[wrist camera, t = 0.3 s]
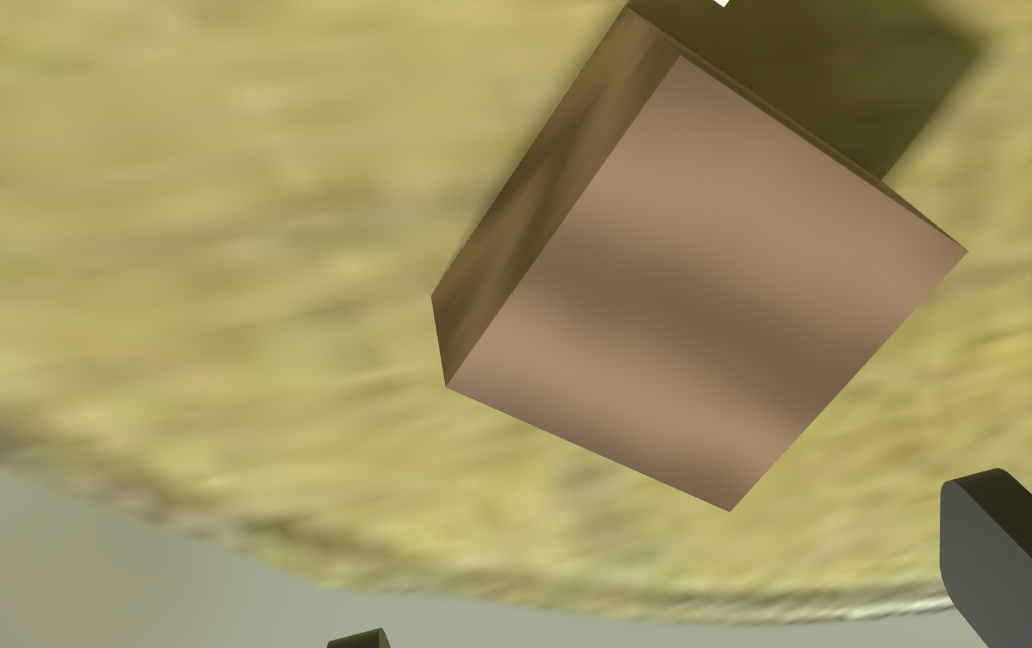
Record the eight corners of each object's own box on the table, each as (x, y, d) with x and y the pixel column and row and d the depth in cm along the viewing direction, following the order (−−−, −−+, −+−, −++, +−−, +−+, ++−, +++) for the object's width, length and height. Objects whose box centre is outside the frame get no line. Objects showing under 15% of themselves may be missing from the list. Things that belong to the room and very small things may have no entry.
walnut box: (623, 2, 30) (680, 55, 25) (877, 177, 35) (968, 251, 30) (430, 292, 35) (445, 387, 30) (679, 413, 39) (729, 512, 34)
